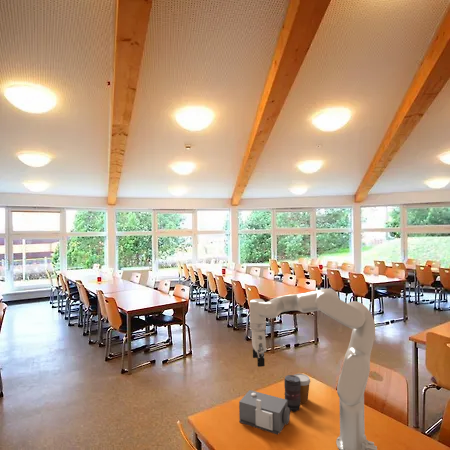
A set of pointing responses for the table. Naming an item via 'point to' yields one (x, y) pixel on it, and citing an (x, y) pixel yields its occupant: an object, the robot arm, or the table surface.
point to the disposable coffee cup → (304, 387)
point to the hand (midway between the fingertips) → (258, 361)
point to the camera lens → (292, 391)
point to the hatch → (263, 417)
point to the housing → (267, 404)
